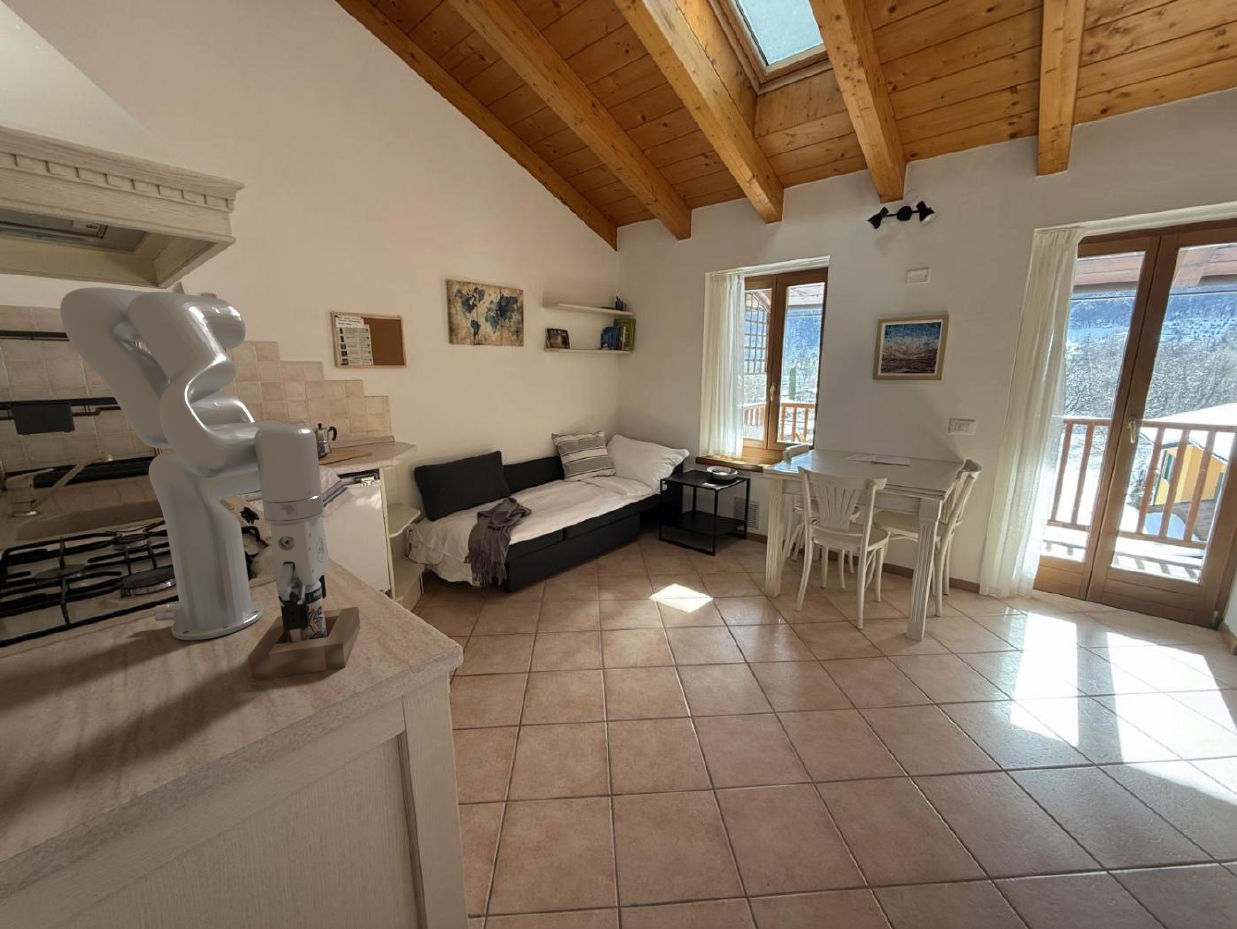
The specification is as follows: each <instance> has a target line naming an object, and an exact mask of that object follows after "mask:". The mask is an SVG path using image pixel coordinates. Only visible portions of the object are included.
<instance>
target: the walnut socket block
mask: <svg viewBox="0 0 1237 929" xmlns="http://www.w3.org/2000/svg"><path fill="white" fill-rule="evenodd" d="M324 616H325V625H326V634H327V637H326V638H318V639H311V640H303V641H296V642H291V636H290V630H284V628H283V620H282V615H279V616H277V617H276V618H275V619H274V621H273V623H272V624H271V626H269V628H268V629H267V631H266V632H265V633H264V634H263V636H262V637H261V639H260V640H259V641H258V643H257V644H256V645H255V647H254V648H253V650H252V651H251V652H250V654H249V655H248V660H249V666H250V667H249V670H250V675H251V681H252V682H257V681H263V680H269V679H275V678H277V679H278V678H283V677H290V676H296V675H302V674H308V673H309V674H310V673H315V672H323V671H329V670H335V669H342V668H346V666H347V663H348V661H349V658H350V656H351V653H352V650H353V648H354V644H355V643H356V640H357V637H358V635H359V632H360V630H361V624H360V623H361V622H360V610H359V606H355V607H354V606H353V607H345V608H337V609H328V610H324Z"/></svg>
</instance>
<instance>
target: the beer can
mask: <svg viewBox="0 0 1237 929" xmlns="http://www.w3.org/2000/svg"><path fill="white" fill-rule="evenodd" d="M296 582H301V581H300V580H299V581H292V582H291V583H296ZM298 590H299V588H298V589H292V590H291V591H294V592H295V593H296V594H297V595H298ZM304 601H307V606H308V615H309V623H310V624H309V626H308V627H307V628H302V629H294V630H290V636H291V642H296V641H303V640H311V639H318V638H326V637H327V634H326V625H325V616H324V611H325V608H324V607H325V606H324V599H323V598H322V589H321V583H320V582H319V580H318V581H317V582H316V583H315V584H314V585H313V586H309V585H306V587H305V596H304Z"/></svg>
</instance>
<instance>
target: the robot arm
mask: <svg viewBox="0 0 1237 929" xmlns="http://www.w3.org/2000/svg"><path fill="white" fill-rule="evenodd" d="M59 310H60V318H61V322H62V323H61V324H62V326H63V330H64V332H65V334H66V336H67V338H68V340H69V342H70V344H71V345H72V346H73V348H74V350H75V351H76V352H77V354H78V355H79V356H80V357H81V358H82V359H83V361H84V362H85V363H87V365H88V366H89V367H90V368H91V369H92V370H93V371H94V372H95V373H96V374H97V375H98V376H99V377H100V378H101V379H102V380H103V382H105V384H106V385H107V387H108V388H109V390H110V392H111V393H112V396H113V398H114V399H115V401H116V402H117V404H118V406H119V408H120V409H121V411H122V413H123V414H124V416H125V418H126V419H127V421H128V423H129V424H130V427H131V428H132V430H133V431H134V433H135V435H137V437H138V438H139V440H141V442H142V443H144V444H145V445H146V446H148V447H151V448H154V449H168V450H166V451H163V452H161V453H160V454H158V455H156V456H155V457H154V458H153V459H152V461H151V462H150V464H149V468H148V477H149V481H150V484H151V487H152V489H153V491H154V494H155V496H156V499H157V501H158V504H159V505H160V509H161V511H162V512H161V513H162V515H163V518H164V523H165V527H166V533H167V539H168V545H169V549H170V556H171V559H172V566H173V572H174V578H175V584H176V590H177V594H178V602H177V603H174V604H171V603H167V604H161V605H156V606H155V607H154V610H153V614H154V615H153V616H154V620H155V621H156V622H162V621H167V620H172V621H174V623H173V624H172V626H171V634H172V636H173V637H174V638H176V639H177V640H181V641H182V640H183V641H201V640H202V641H204V640H208V639H209V640H210V639H214V638H218V637H223V636H225V635H229V634H233V633H235V632H238V631H240V630H242V629H244V628H247V627H248V626H250V625H252V624H254V623H255V622H257V621H258V620H259V619H260V618H261V617H262V616H263V614H264V606H263V604H262V603H261V602H259V601H256V600H252V597H251V590H250V584H249V583H250V582H249V576H248V569H247V568H248V567H247V562H246V553H245V547H244V541H243V540H244V539H243V534H242V527H241V523H240V520H239V519H238V517H237V516H236V515H235V513H233V511H231V510H229V509H228V508H227V507H226V506H224V505H223V503H222V502H221V500H223V499H227V498H231V497H234V496H235V497H236V496H239V495H244V494H249V493H254V492H257V491H258V492H259V491H260V494H261V500H262V509H263V517H264V522H265V523H266V524H270V526H271V532H270V534H271V537H270V538H271V553H272V564H273V566H272V567H273V572H274V578H275V583H276V591H277V594H278V596H277V597H278V600H279V607H280V611H281V616H282V620H283V628H284V630H294V629H302V628H307V627H308V626H309V624H310V623H309V615H308V606H307V601H304V596H305V587H306V585H309V586H313V585H314V584H315V583H316V582H317V581H318V580H319V582H320V583H321V589H322V598H323V600H324V599H326V597H327V589H326V588H327V587H326V580H325V578H326V577H325V574H324V573H325V571H326V569H327V568H328V567H329V562H330V557H329V551H328V544H327V539H326V533H325V527H324V522H323V518H322V517H323V516H324V515H325V510H324V509H325V508H324V500H323V492H322V491H323V490H322V482H321V481H322V480H321V479H322V478H321V473H320V472H321V470H320V463H319V462H320V461H319V453H318V444H317V443H318V442H317V435H316V433H315V431H314V430H313V428H311V427H309V426H306V425H300V424H297V425H296V424H288V423H284V422H282V421H278V420H277V421H276V420H259V421H256V420H255V418H254V417H253V415H252V413H251V411H250V410H249V408H248V407H247V405H246V404H245V403H244V402H243V401H242V400H241V399H240V398H238V397H237V396H236V395H234V394H232V393H230V392H227V391H223V389H225V388H226V387H228V386H229V385H230V384H231V383H232V382H233V381H234V379H235V377H236V374H237V368H236V367H237V366H236V364H235V362H234V361H233V359H232V358H231V357H230V356H229V354H228V353H227V350H226V349H228V350H229V349H235V348H237V347H239V346H240V345H241V344H243V343H244V340H245V338H246V332H247V330H246V324H245V321H244V319H243V317H242V314H241V313H240V311H238V310H237V308H236V307H235V306H234V305H232V304H231V303H230V302H228V301H227V300H224V299H222V298H217V297H213V296H211V297H210V296H203V295H195V294H188V293H178V292H170V291H150V292H149V291H148V292H147V291H141V290H140V291H139V290H134V289H133V290H132V289H123V288H122V289H121V288H113V287H95V286H94V287H83V288H82V287H81V288H77V289H74V290H72V291H70V292H68V293H66V294H65V295H64V296H63V298H62V300H61V302H60V308H59ZM135 343H144V345H145V347H146V348H147V349H148V351H149V352H148V351H146V350H144V349H143V348H141V347H139V346H137V345H136V344H135ZM299 580H300V581H301V582H296V583H291V582H292V581H299ZM298 588H299V590H298V595H297V594H296V593H295V592H294V591H291V590H292V589H298Z"/></svg>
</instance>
